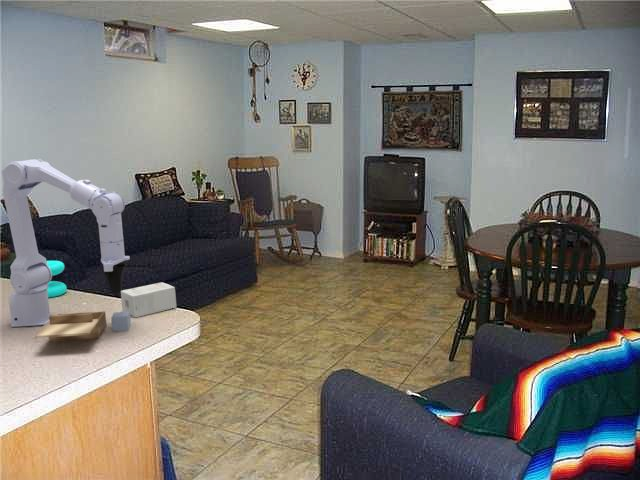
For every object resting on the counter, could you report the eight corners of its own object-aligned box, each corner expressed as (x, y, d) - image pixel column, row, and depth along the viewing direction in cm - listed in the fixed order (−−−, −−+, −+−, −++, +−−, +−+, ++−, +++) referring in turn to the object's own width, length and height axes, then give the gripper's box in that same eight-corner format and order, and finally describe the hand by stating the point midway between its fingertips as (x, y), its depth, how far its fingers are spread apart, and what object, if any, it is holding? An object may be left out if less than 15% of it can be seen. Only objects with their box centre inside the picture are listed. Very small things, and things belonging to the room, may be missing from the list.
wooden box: (49, 341, 167) (47, 326, 167) (59, 328, 177) (58, 313, 176) (98, 338, 169) (97, 323, 168) (106, 325, 178) (105, 311, 178)
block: (112, 331, 174) (111, 317, 173) (115, 326, 178) (114, 312, 177) (128, 331, 174) (127, 316, 173) (131, 326, 178) (129, 311, 177)
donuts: (22, 265, 206) (47, 258, 215) (25, 297, 208) (50, 288, 217) (46, 268, 202) (71, 261, 210) (49, 300, 204) (74, 291, 212)
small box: (134, 318, 184) (177, 308, 192) (132, 296, 183) (175, 286, 191) (122, 312, 190) (164, 302, 199) (120, 290, 189) (162, 281, 197)
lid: (35, 337, 157) (34, 327, 157) (47, 323, 168) (46, 314, 167) (89, 334, 159) (88, 324, 158) (98, 320, 169) (97, 311, 168)
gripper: (122, 245, 164) (127, 299, 167) (132, 234, 178) (136, 283, 181) (93, 247, 163) (98, 300, 166) (105, 235, 178) (110, 285, 180)
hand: (116, 292), depth 174 cm, fingers closed
